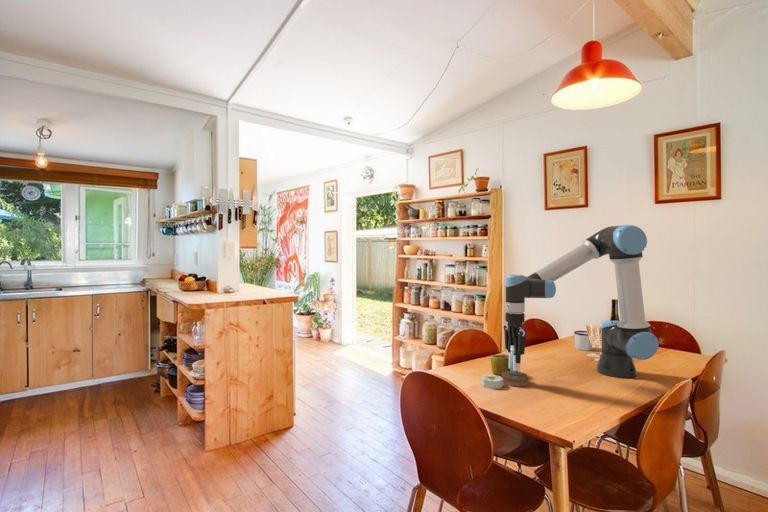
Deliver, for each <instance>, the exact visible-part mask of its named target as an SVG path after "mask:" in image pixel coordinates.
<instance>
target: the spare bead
mask: <svg viewBox="0 0 768 512" xmlns="http://www.w3.org/2000/svg"><path fill="white" fill-rule="evenodd" d="M480 385H481V386H482V387H483V388H486V389H492V390H495V389H502V388H503V387H504V384H503V378H502V376H496V375H494V374H484V375H481V377H480Z"/></svg>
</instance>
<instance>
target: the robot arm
mask: <svg viewBox="0 0 768 512" xmlns="http://www.w3.org/2000/svg"><path fill="white" fill-rule="evenodd" d="M647 244H648V238H647V234H646V233H645V231H644V230H643V229H642V228H640V227H639V226H636V225H631V224H621V225H615V226H607V227H605V228H602V229H600V230H599V231H597V232H596V233H595V232H594V234H593V235H591V236H589V237H587V238H586V239H584V240H583V241H582V243H581V245H579V246H577V247H576V248H574V249H572V250H570V251H569V252H567V253H565V254H564V255H562V256H560V257H558V258H557V259H555V260H554V261H552V262H550V263H548V264H547V265H545V266H543V267H542V268H540V269H538V270H537V271H535V272H533V273H532V274H530V275H528V276H525V275H523V274H508V275H506V277H505V285H504V286H505V305H504V306H505V313H504V314H505V317H504V319H505V322H506V323H507V324H506V325H503V331H504V347H505V350H507V352H508V355H509V368H510V364H511V345H514V349H515V354H513V371H519V372H521V362H522V361H521V358H522V357H521V356H522V355H525V351H526V350H525V349H526V337H527V334H528V333H527V330H524V328H523V323H525V320H526V319H525V317H526V315H525V309H526V305H525V304H526V303H525V301H526V299H545V300H546V299H552V298H554V297H555V295H556V291H557V287H556V283H555V281H557V280H559V279H562V277H564V276H565V275H567V274H569V273H571V272H572V271H574V270H576V269H577V268H580V267H581V266H583V265H584V264H586V263H588V262H590V261H591V260H593V259H596V260H597V259H599V258H601V257H603V256H606V255H608V256H609V261H610V262H612V263H613V264H614V272H615V273H614V274H615V282H616V289H617V300H618V309H619V317H620V320H604V321H602V322H601V328H600V329H601V337H600V338H601V341H600V345H601V347H600V349H601V353H600V357H599V359H598V361H597V363H596V371H597V372H598V373H600V374H603V375H605V376H609V377H614V378H623V379H624V378H627V379H629V378H635V377H636V376H637V368H636V366H635V363H634V360H633V359H636V360H639V361H644V360H645V361H646V360H648V359H651V358H652V357H653V356H654V355H655V354H657V352H658V350H659V347H660V346H659V344H660V343H659V340H658V338H657V336H656V335H655V334H653V333H652V329H651V328H652V327H651V323H649V322H648V321H646V315H645V307H644V298H643V289H642V288H643V287H642V280H641V272H640V270H641V269H640V261H641V260H642V258H643V256H644V255H643V251H644V250H645V248H647V246H648V245H647Z"/></svg>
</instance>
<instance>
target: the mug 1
mask: <svg viewBox="0 0 768 512" xmlns="http://www.w3.org/2000/svg"><path fill="white" fill-rule="evenodd" d="M490 364H491V372H492V375H496V376H500V377H502V372H505V371H510V368H509V354H504V353H503V354H500V353H498V354H497V353H496V354H492V355H491V356H490Z"/></svg>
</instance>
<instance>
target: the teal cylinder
mask: <svg viewBox="0 0 768 512" xmlns="http://www.w3.org/2000/svg"><path fill="white" fill-rule="evenodd" d="M513 354H515V349H514V345H511V364H510V375H511V376H518V371H513Z"/></svg>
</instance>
